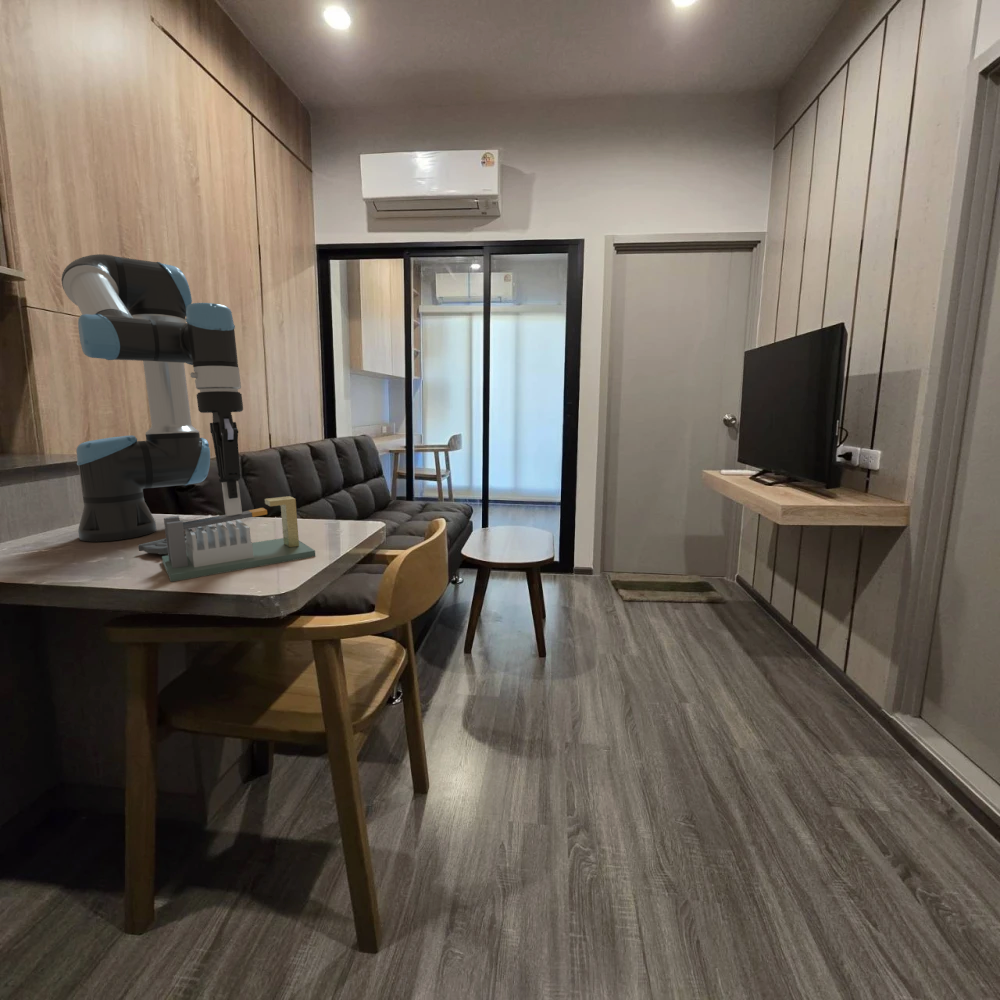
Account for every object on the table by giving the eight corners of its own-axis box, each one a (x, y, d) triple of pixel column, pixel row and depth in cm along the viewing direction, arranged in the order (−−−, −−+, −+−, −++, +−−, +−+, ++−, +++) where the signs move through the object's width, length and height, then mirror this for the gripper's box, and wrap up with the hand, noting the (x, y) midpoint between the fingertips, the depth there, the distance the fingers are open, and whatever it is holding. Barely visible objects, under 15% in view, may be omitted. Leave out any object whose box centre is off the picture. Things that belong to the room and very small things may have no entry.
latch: (268, 545, 108) (264, 498, 107) (293, 542, 111) (289, 496, 110) (273, 549, 105) (269, 501, 104) (299, 545, 108) (295, 498, 107)
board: (162, 562, 102) (156, 514, 100) (293, 541, 117) (290, 500, 115) (170, 581, 90) (164, 528, 88) (315, 556, 105) (312, 510, 103)
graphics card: (204, 523, 123) (237, 527, 117) (206, 539, 123) (239, 543, 118) (127, 540, 108) (160, 545, 102) (129, 558, 109) (163, 564, 103)
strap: (169, 530, 97) (167, 523, 97) (263, 513, 107) (262, 506, 106) (171, 533, 94) (169, 526, 94) (267, 515, 104) (266, 508, 104)
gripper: (191, 392, 100) (206, 512, 104) (201, 389, 90) (218, 522, 94) (233, 392, 105) (247, 507, 109) (248, 389, 94) (262, 516, 98)
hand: (233, 514), depth 101 cm, fingers closed
